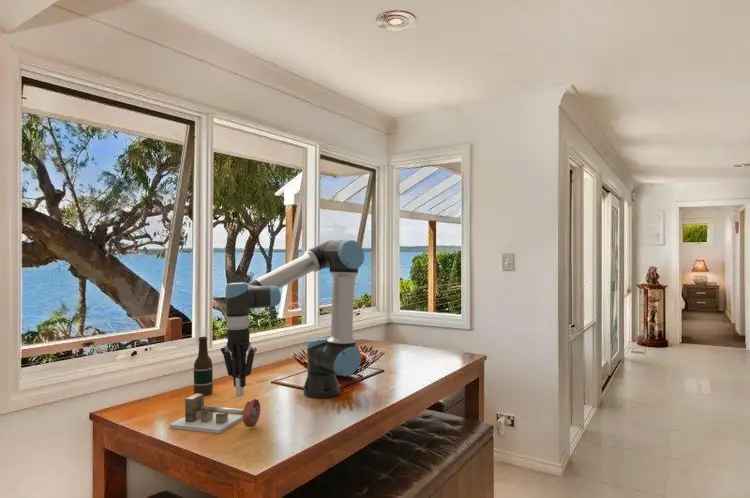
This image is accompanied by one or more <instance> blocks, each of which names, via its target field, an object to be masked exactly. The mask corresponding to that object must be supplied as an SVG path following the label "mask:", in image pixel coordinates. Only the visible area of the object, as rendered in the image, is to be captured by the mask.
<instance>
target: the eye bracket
mask: <svg viewBox="0 0 750 498" xmlns="http://www.w3.org/2000/svg"><path fill="white" fill-rule="evenodd" d="M204 406H205V396H204V394H199V393H196V394H194V393H193V394H192V395H190V396H188V397H185V398H184V408H185V409H184V411H185V412H184V415H185V416H184V417H185V422H194V421H196V420H198V419H200V418H201V422H208V421H210V420H212V419H213V413H214V412H208V411H204V410H203V408H204ZM217 413H218V412H217ZM228 415H229V414H228V413H218V414H216V423H220V424H222V423H224V422H226V421H227V420H228Z"/></svg>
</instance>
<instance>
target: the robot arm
mask: <svg viewBox="0 0 750 498" xmlns="http://www.w3.org/2000/svg"><path fill="white" fill-rule="evenodd" d="M364 261H365V251H364V248H363V246H362V245H361V244H360V243H359V242H358V241H356V240H353V239H348V238H346V239H335V240H334V239H329V240H326V241H323V242H322V243H319V244H317V245H315V246H313V247H311V248H309V249H308V250H305V251H304V253H303V255H301V256H299V257H297V258H295V259H293V260H291V261H289V262H287V263H285V264H283V265H281V266H279V267H277V268H275V269H273V270H272V271H268V272H267V273H266V274H264V275H261V276H260V277H257V278H256V279H254V280H252V281H249V282H243V281H241V282H230V283H227V284H226V286H225V296H224V297H225V309H226V311H225V312H226V319H225V320H226V322H225V323H226V328H227V329H226V339H227V342H226V345H225V346H224V347H221V348H220V351H221V353H222V355H223V360H224V363H225V367H226V368H225V369H226V371H227V375H228V376H231V377H232V379H233V387H235V398H241V397H243V396H245V387H246V385H247V384H246V381H247V380H246V377H249V376H250V375H251V374H252V369H253V363H254V358H255V354H256V353H257V351H258V348H257V347H253V346H252V345H251V342H250V335H251V334H250V328H249V326H250V310H253V309H262V308H271V307H277V306H278V305H279V304H280V303H281V300H282V299H281V298H282V295H281V290H280V289H281V288H283V287H285V286H287V285H289V284H291V283H293V282H295V281H297V280H298V279H300V278H303V277H304V276H306V275H308V274H309V273H313V272H314V273H317V272H318V271H320V270H324V269H329V274H330V275H331V276H332V293H331V295H332V296H331V297H332V299H331V326H330V337H320V338H315V339H310V340H308V341H307V344H306V346H307V347H306V351H307V352H306V355H307V356H306V359H307V360H306V361H307V375H306V378H305V382H304V385H303V393H302V394H303V396H305V397H308V398H313V399H325V398H332V397H336V396H337V395H339V393H340V385H339V382H338V378H337V376H343V377H348V376H352V375H353V374H354V373H355V372H356V371H357V370H358V368H359V367H360V365H361V361H362V356H361V355H362V354H361V352H360V351H359V349H358V348H357V347H356V346H357V345H356V344H357V343H356V342H357V341H356V339H355V338H354V337H353V324H354V323H353V322H354V295H355V294H354V292H355V277H356V276H358V274H359V269H360V267H361V266H362V264H364ZM336 375H337V376H336Z"/></svg>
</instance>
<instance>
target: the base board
mask: <svg viewBox="0 0 750 498" xmlns="http://www.w3.org/2000/svg"><path fill="white" fill-rule="evenodd" d="M216 414H218V412H213V419H212V420H210V421H208V422H201V418H200V419H198V420H196V421H194V422H185V416H184V417H181V418H179V419H177V420H175V421H174V422H171V423H170V424H168V425H169V427H168V428H169V429H176V430H186V431H194V432H203V433H211V434H212V433H213V434H221V433H224V432H225V431H227V430H228V429H230V428H231V427H233V426H234V425H236V424H238V423H240V422H241V421H243V415H238V414H228V420H227V421H226V422H224V423H222V424H220V423H216Z"/></svg>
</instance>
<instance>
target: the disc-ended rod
mask: <svg viewBox="0 0 750 498" xmlns="http://www.w3.org/2000/svg"><path fill="white" fill-rule="evenodd" d="M203 410H204V411H208V412H213V413H228V415H238V416H243V420H242V422H243V424H244V426H245V427H246V428H254V427H255V426H257V425H256V424H258V421H259V420H260V415H261V403H260V401H259V400H258V399H257V398H250V399H249V400H247V402H246V404H245V406H244V408H243V409H241V408H231V407H222V406H221V407H220V406H210V405H204V408H203Z"/></svg>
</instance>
